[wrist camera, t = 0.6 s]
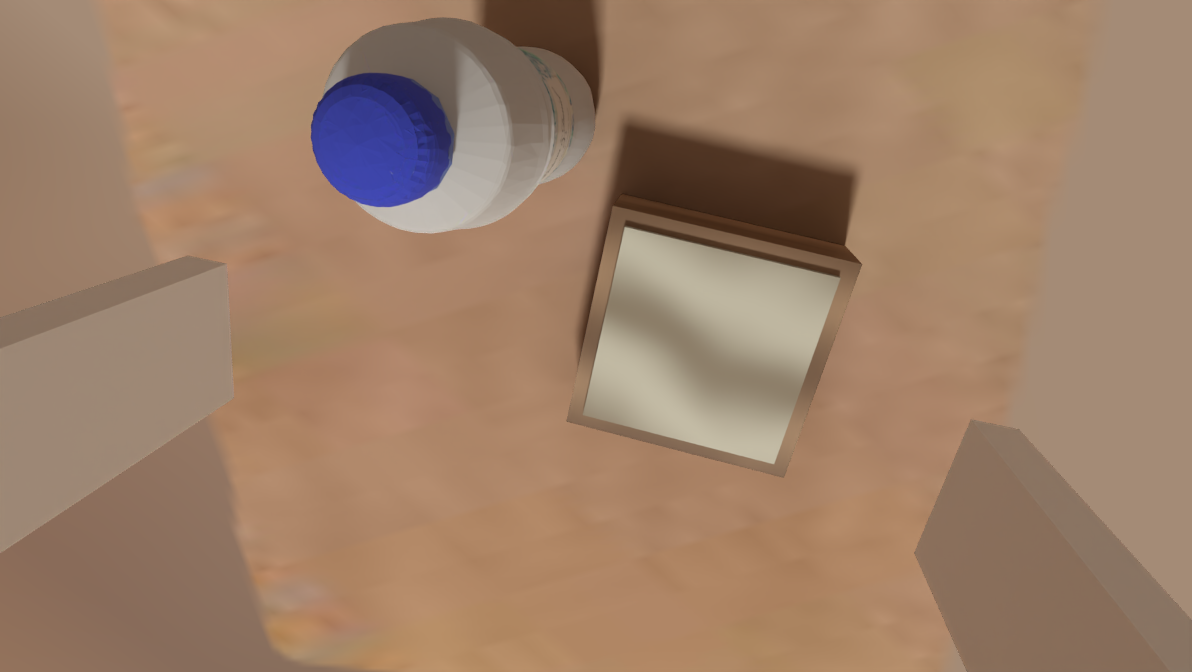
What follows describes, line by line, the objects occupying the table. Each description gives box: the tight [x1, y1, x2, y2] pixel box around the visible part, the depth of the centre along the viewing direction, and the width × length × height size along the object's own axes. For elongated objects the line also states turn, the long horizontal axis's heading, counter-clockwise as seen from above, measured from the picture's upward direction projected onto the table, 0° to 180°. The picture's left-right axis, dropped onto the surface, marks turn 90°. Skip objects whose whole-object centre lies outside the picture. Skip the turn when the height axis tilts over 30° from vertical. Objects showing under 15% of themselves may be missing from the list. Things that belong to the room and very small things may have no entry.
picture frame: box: [567, 194, 862, 478], centre depth 35 cm, size 12×12×4 cm
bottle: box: [311, 18, 595, 233], centre depth 25 cm, size 7×7×20 cm
